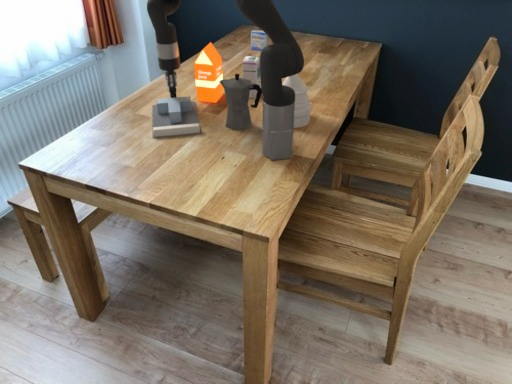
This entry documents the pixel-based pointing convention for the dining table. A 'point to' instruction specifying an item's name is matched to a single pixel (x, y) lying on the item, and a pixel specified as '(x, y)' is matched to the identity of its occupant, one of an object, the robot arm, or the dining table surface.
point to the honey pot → (299, 100)
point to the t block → (174, 107)
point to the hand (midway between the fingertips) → (174, 100)
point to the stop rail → (176, 130)
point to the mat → (186, 117)
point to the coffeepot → (239, 101)
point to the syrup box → (251, 72)
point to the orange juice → (208, 75)
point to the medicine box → (259, 40)
